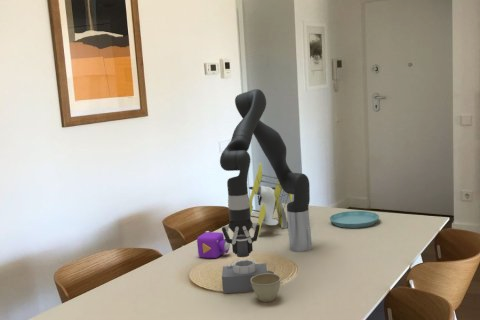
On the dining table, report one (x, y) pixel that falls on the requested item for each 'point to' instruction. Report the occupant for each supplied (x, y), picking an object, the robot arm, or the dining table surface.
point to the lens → (242, 246)
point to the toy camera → (212, 245)
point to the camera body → (241, 275)
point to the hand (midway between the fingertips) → (242, 253)
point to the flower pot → (266, 286)
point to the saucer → (354, 219)
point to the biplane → (268, 201)
